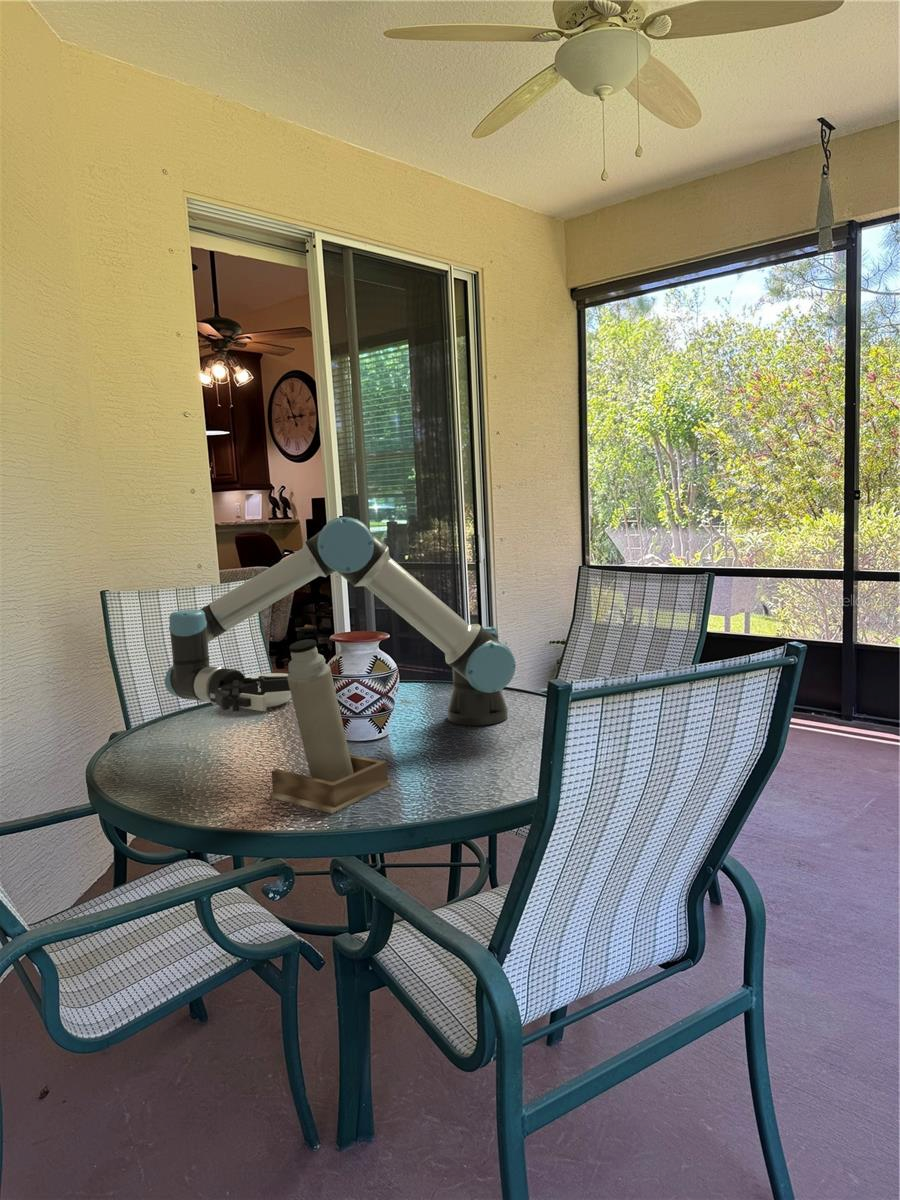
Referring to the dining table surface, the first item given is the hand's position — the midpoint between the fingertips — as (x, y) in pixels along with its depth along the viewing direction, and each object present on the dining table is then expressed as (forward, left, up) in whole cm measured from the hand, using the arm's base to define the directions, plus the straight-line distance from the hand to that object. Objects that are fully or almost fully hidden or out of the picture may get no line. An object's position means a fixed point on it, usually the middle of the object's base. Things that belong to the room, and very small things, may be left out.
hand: (291, 695), depth 145 cm
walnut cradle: (-8, +5, -17) cm, 20 cm away
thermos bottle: (-8, +3, -16) cm, 18 cm away
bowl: (+31, -61, -18) cm, 71 cm away
